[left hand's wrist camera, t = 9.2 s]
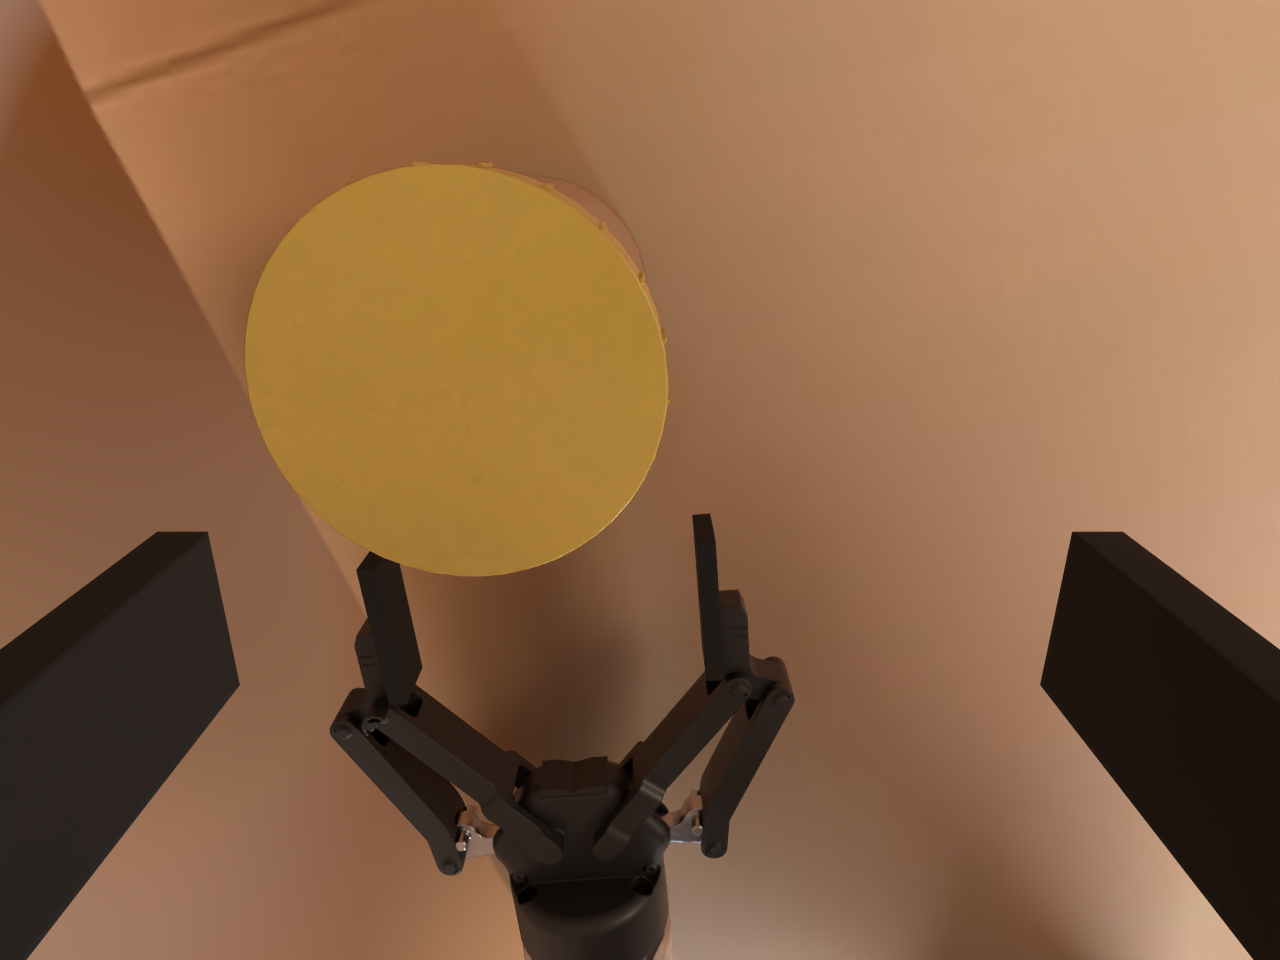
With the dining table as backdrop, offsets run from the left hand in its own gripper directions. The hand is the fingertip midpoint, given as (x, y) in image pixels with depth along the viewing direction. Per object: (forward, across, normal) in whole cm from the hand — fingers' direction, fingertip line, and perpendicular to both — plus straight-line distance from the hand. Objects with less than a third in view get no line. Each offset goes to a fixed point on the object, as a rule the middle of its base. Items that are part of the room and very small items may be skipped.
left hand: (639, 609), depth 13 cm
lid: (+9, +4, -1) cm, 10 cm away
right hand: (+19, +4, +8) cm, 21 cm away
